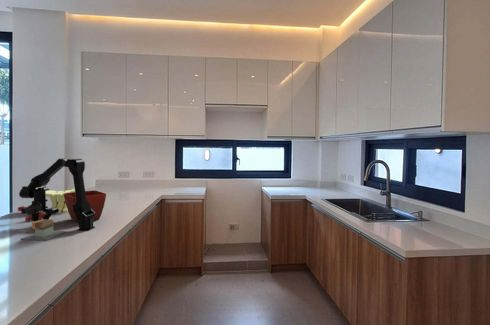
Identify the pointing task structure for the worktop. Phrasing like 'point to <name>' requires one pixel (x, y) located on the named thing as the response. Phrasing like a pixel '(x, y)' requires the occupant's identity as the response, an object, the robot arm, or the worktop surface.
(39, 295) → the worktop surface
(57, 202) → the slatted curved stool
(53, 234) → the baseplate
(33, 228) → the orange brick
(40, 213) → the toy fire truck
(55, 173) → the robot arm
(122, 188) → the worktop surface
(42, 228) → the walnut brick
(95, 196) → the plant pot
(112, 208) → the worktop surface
